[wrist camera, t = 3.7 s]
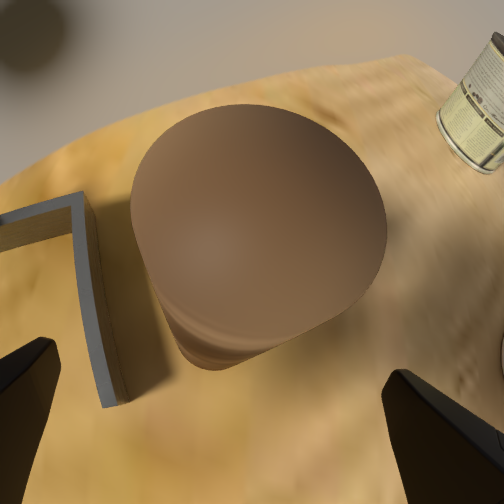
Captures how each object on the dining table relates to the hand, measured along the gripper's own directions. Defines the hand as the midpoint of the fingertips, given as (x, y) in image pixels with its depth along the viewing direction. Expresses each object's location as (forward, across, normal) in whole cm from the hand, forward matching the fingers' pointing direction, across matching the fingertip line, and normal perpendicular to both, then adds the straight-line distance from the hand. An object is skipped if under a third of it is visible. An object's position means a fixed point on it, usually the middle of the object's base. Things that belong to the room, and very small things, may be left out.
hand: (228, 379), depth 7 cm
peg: (+9, 0, +5) cm, 11 cm away
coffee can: (+26, -27, -11) cm, 39 cm away
